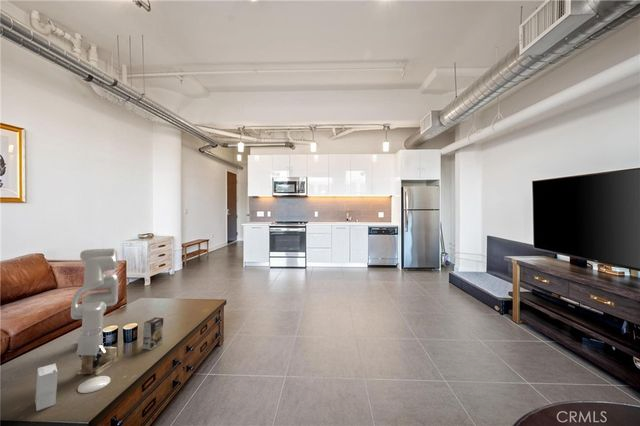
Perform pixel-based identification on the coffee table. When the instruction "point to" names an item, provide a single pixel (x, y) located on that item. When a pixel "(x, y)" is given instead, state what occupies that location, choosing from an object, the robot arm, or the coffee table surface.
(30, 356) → the coffee table surface
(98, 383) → the ceramic coaster
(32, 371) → the coffee table surface
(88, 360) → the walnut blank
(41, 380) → the skincare box
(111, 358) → the birch slot
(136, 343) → the coffee table surface
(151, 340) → the coffee box
